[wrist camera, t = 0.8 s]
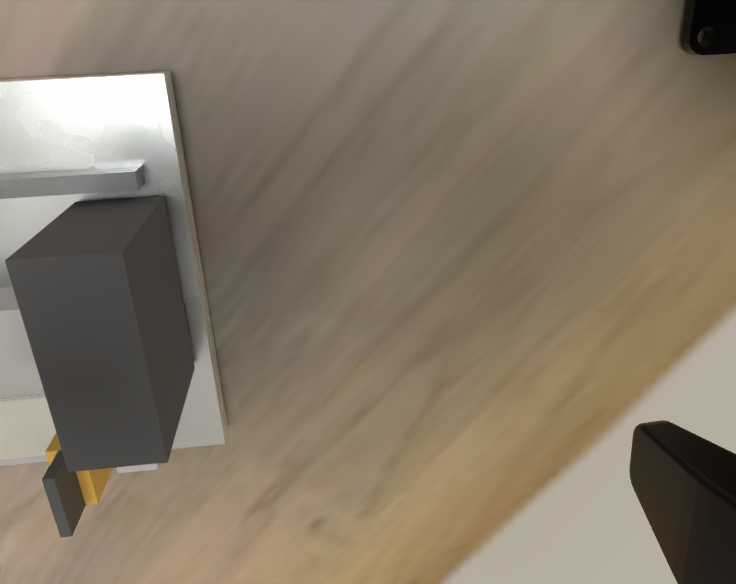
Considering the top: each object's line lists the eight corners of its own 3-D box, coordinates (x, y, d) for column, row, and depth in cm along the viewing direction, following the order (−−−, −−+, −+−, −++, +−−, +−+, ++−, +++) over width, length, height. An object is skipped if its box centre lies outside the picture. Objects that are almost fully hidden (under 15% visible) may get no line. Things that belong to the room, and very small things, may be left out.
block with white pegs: (163, 195, 17) (121, 252, 13) (205, 429, 21) (182, 534, 16) (-57, 210, 17) (-173, 273, 13) (22, 447, 20) (-50, 560, 16)
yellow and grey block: (106, 399, 19) (68, 477, 16) (119, 451, 20) (85, 534, 17) (73, 402, 19) (28, 481, 16) (87, 454, 20) (47, 538, 17)
